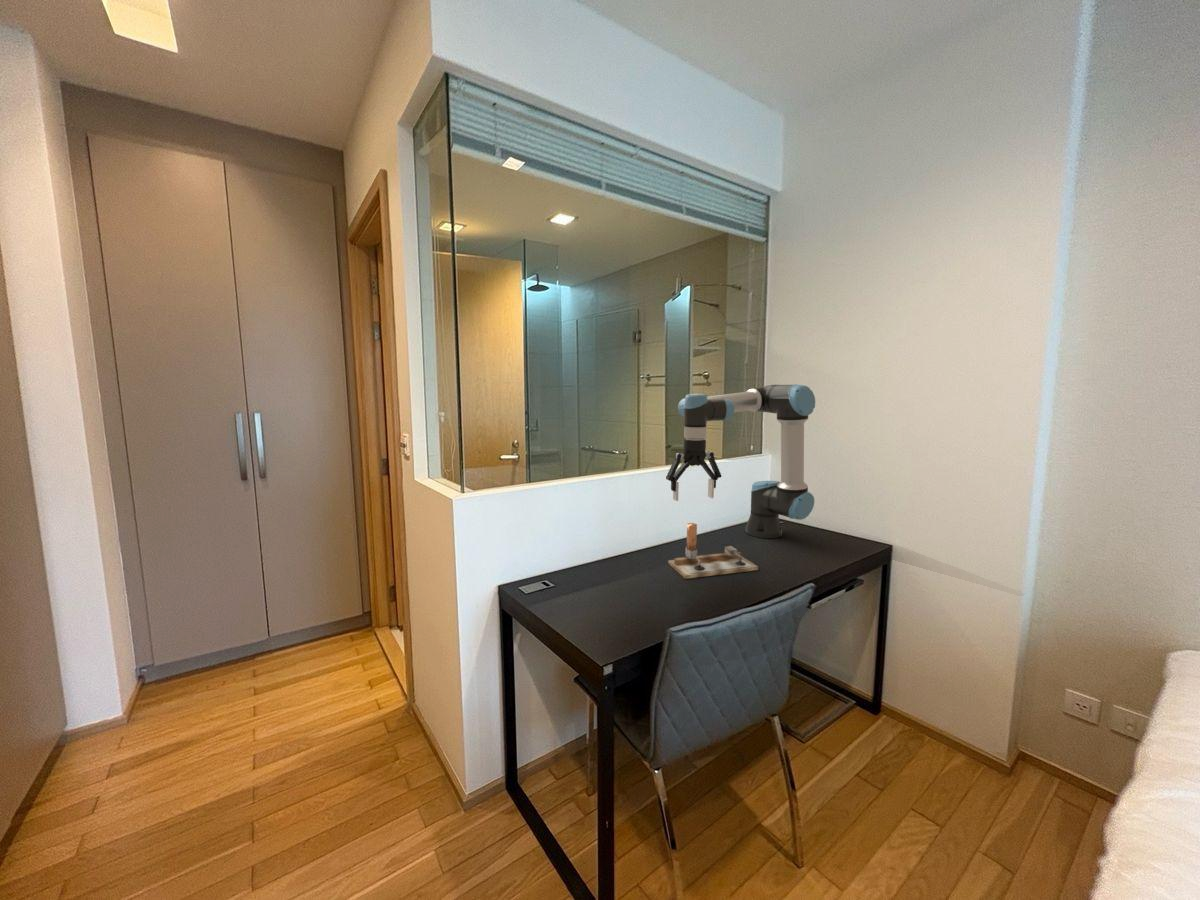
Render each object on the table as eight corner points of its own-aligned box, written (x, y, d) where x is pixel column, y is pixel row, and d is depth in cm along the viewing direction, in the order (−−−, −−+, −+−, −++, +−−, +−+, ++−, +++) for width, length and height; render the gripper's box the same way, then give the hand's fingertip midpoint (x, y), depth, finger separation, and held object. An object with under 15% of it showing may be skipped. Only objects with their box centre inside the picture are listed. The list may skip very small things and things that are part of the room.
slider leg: (692, 557, 173) (693, 522, 171) (704, 567, 165) (705, 529, 163) (684, 558, 172) (685, 523, 170) (695, 568, 164) (696, 530, 162)
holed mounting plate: (736, 556, 181) (736, 543, 180) (758, 569, 167) (758, 556, 167) (668, 563, 173) (668, 550, 172) (685, 578, 160) (685, 564, 159)
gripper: (721, 436, 172) (719, 493, 175) (657, 438, 165) (656, 498, 168) (732, 438, 165) (730, 498, 168) (666, 441, 158) (664, 503, 161)
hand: (693, 498), depth 168 cm, fingers open, 13 cm apart
